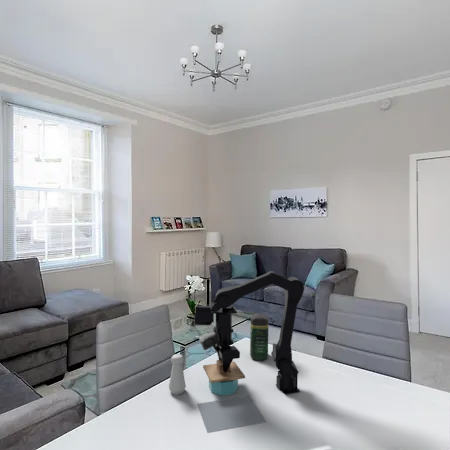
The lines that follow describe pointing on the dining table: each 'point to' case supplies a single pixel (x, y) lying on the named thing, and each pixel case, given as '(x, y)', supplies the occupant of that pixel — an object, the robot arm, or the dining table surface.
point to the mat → (230, 414)
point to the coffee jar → (259, 336)
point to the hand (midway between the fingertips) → (223, 369)
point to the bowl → (224, 387)
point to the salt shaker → (177, 375)
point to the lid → (218, 375)
